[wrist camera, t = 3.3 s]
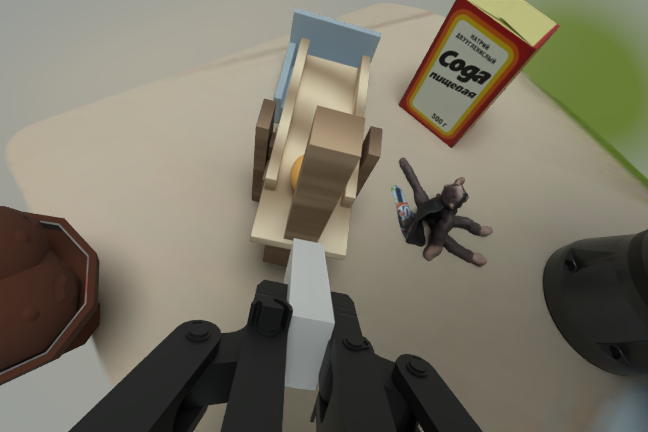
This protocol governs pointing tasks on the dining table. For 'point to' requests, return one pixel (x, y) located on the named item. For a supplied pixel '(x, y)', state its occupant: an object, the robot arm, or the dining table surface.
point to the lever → (315, 156)
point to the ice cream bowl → (43, 291)
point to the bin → (324, 46)
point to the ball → (295, 171)
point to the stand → (263, 155)
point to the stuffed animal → (436, 218)
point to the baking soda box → (473, 63)
